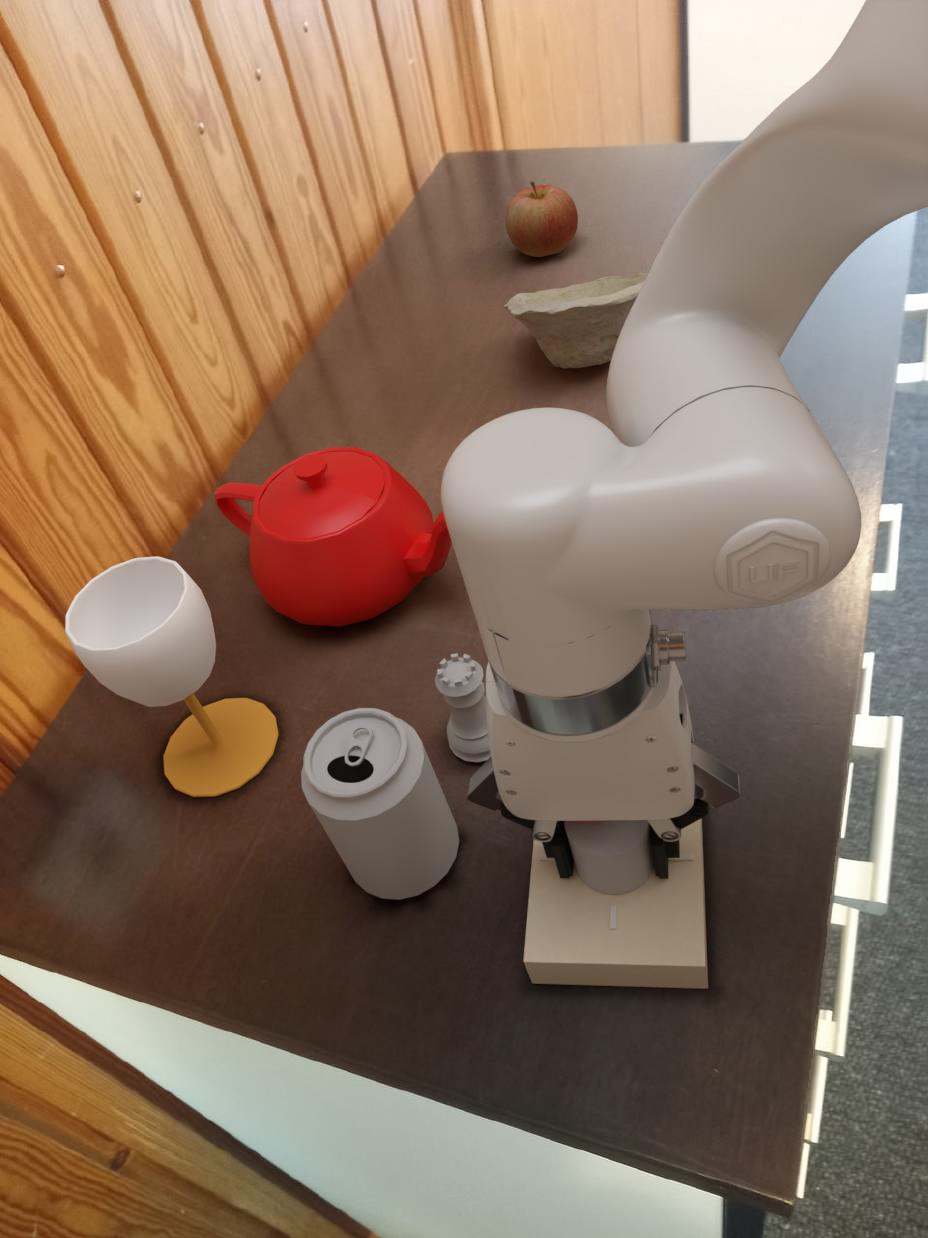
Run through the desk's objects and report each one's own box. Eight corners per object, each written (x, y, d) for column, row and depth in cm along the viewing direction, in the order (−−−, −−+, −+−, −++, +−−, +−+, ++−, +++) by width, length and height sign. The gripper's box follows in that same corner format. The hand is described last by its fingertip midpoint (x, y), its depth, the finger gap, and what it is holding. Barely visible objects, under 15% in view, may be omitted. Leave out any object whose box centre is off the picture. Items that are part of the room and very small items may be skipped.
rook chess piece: (437, 742, 73) (409, 671, 68) (483, 703, 75) (460, 631, 69) (477, 777, 71) (451, 706, 65) (525, 737, 72) (503, 664, 66)
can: (334, 893, 67) (269, 792, 58) (376, 796, 71) (322, 689, 63) (440, 917, 64) (388, 814, 56) (477, 814, 69) (434, 705, 60)
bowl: (665, 306, 105) (657, 212, 97) (670, 387, 95) (662, 291, 88) (520, 326, 108) (502, 236, 101) (511, 407, 99) (491, 315, 91)
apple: (499, 251, 120) (485, 184, 114) (559, 225, 121) (549, 157, 115) (531, 277, 114) (518, 208, 108) (593, 249, 115) (584, 179, 110)
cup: (141, 762, 78) (32, 621, 67) (228, 681, 82) (140, 535, 70) (213, 819, 73) (109, 677, 62) (303, 730, 77) (221, 581, 65)
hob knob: (656, 822, 62) (649, 777, 58) (656, 895, 59) (649, 852, 55) (576, 822, 63) (565, 778, 60) (572, 894, 60) (560, 852, 56)
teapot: (197, 616, 88) (134, 510, 79) (291, 496, 96) (244, 389, 88) (454, 678, 77) (414, 564, 68) (534, 537, 86) (508, 419, 77)
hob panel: (700, 790, 66) (698, 763, 64) (708, 989, 58) (705, 965, 55) (546, 793, 69) (538, 766, 66) (531, 984, 60) (522, 960, 58)
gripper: (757, 588, 48) (760, 800, 61) (409, 609, 52) (481, 803, 65) (769, 718, 43) (769, 918, 56) (383, 730, 47) (467, 914, 60)
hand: (614, 854), depth 61 cm, fingers closed on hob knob, 4 cm apart
